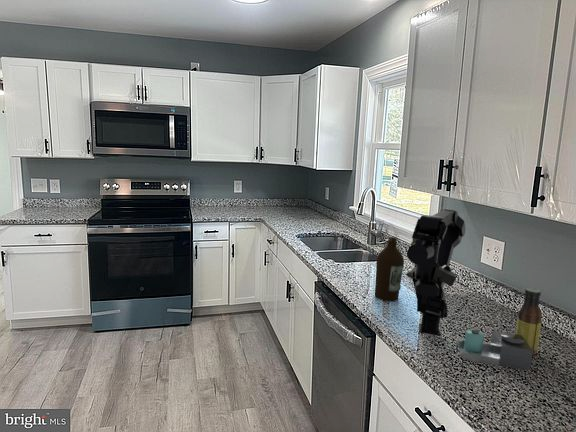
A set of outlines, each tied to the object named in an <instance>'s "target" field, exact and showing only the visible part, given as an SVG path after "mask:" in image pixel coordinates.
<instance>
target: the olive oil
mask: <svg viewBox="0 0 576 432" xmlns="http://www.w3.org/2000/svg"><path fill="white" fill-rule="evenodd" d="M397 241H398V239H397V237H396V236H389V237H388V240H387V246H386V247H385V248H383V249H382V250H381V251H380V252H379V253H378V255H377V257H376V267H375V268H376V269H375V270H376V271H375V285H374V297H375V298H376V299H377V300H378V299H379V300H381V301H384V302H385V301H386V302H396V301H398V300H399V296H400V290H401V287H402V285H401V282H402V277H403V271H404V265H405V260H404V259H405V258H404V256H403V254H402V253H401V252H400V251H399V249H398V248H397Z"/></svg>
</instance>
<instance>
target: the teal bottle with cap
mask: <svg viewBox="0 0 576 432" xmlns="http://www.w3.org/2000/svg"><path fill="white" fill-rule="evenodd" d="M464 339H465V342H464V350H467V352H472V353H479V354H482V349H483V342H485V341H484V340H485V333H483V332H482V331H480V330H479V329H477V328H471V329H466V331H465V336H464Z"/></svg>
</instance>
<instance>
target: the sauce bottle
mask: <svg viewBox="0 0 576 432" xmlns="http://www.w3.org/2000/svg"><path fill="white" fill-rule="evenodd" d="M541 295H542V291H541V290H540V289H537V288H532V287H526V288H525V289H524V301H523V304H522V306H521V308H520V310H519V311H518V313H517V320H516V327H515V334H518V335H522V337H523V338H524V339H525V341H526V342H527V343H528V345H529V346H530V347H531V348H532V350H533V354H532V356H536V355H537V353H538V349H539V342H540V336H541V329H542V328H541V327H542V318H543V314H542V310H541V308H540V307H539V305H540V297H541Z"/></svg>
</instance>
